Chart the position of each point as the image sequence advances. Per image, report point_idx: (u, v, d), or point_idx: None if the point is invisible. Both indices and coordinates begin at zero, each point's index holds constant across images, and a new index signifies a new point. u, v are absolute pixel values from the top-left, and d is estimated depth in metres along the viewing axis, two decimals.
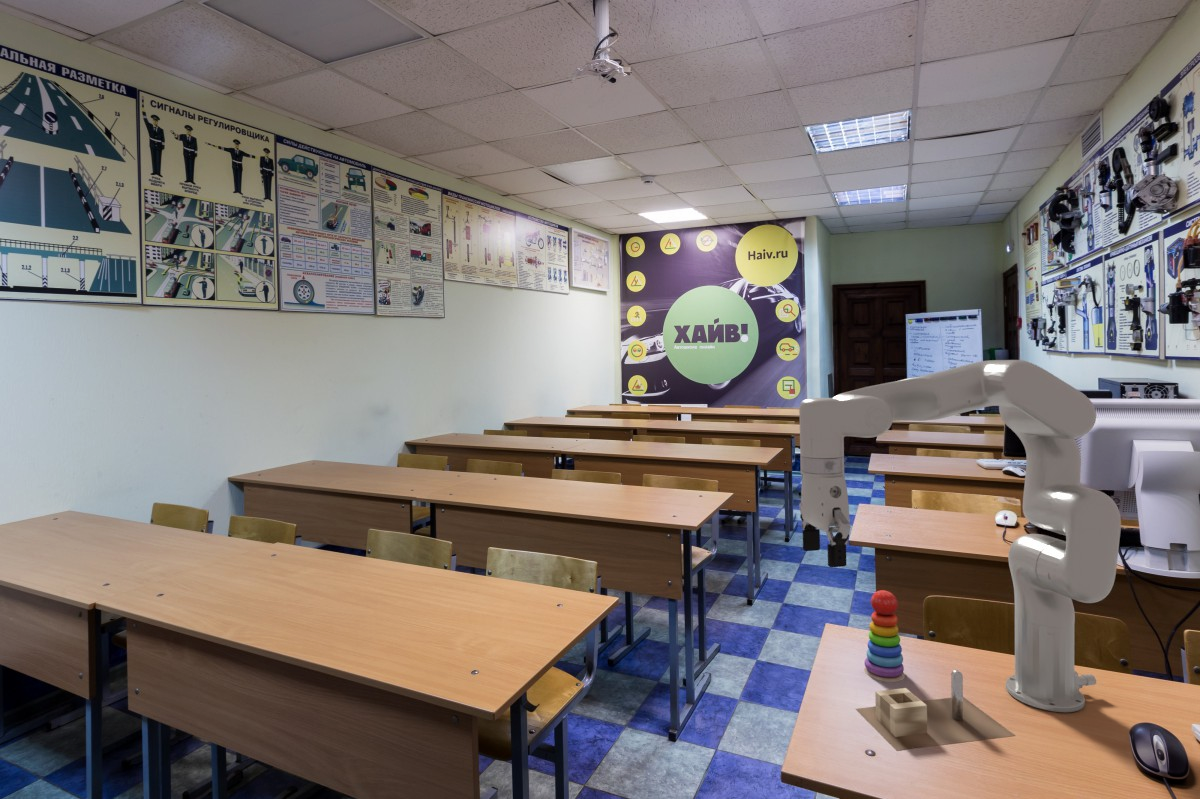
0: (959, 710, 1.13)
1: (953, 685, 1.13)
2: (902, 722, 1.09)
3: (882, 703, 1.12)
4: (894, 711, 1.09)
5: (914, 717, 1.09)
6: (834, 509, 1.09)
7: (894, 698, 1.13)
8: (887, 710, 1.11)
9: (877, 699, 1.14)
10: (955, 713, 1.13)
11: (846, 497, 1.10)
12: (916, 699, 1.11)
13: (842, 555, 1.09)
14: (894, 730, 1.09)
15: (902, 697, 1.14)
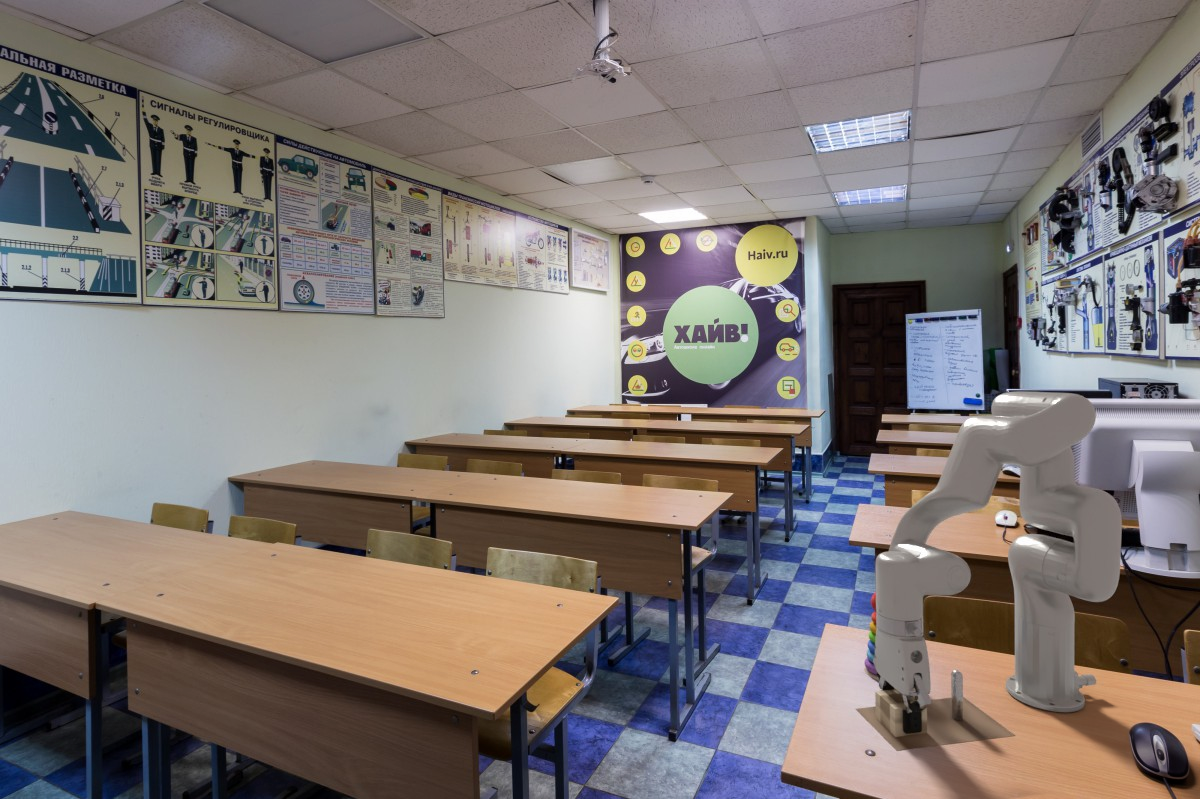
0: (959, 710, 1.13)
1: (953, 685, 1.13)
2: (902, 722, 1.09)
3: (882, 703, 1.12)
4: (893, 711, 1.09)
5: None
6: (915, 677, 1.07)
7: (894, 698, 1.13)
8: (887, 710, 1.11)
9: (877, 699, 1.14)
10: (955, 713, 1.13)
11: (927, 661, 1.07)
12: None
13: (918, 722, 1.08)
14: (894, 730, 1.09)
15: (902, 697, 1.14)
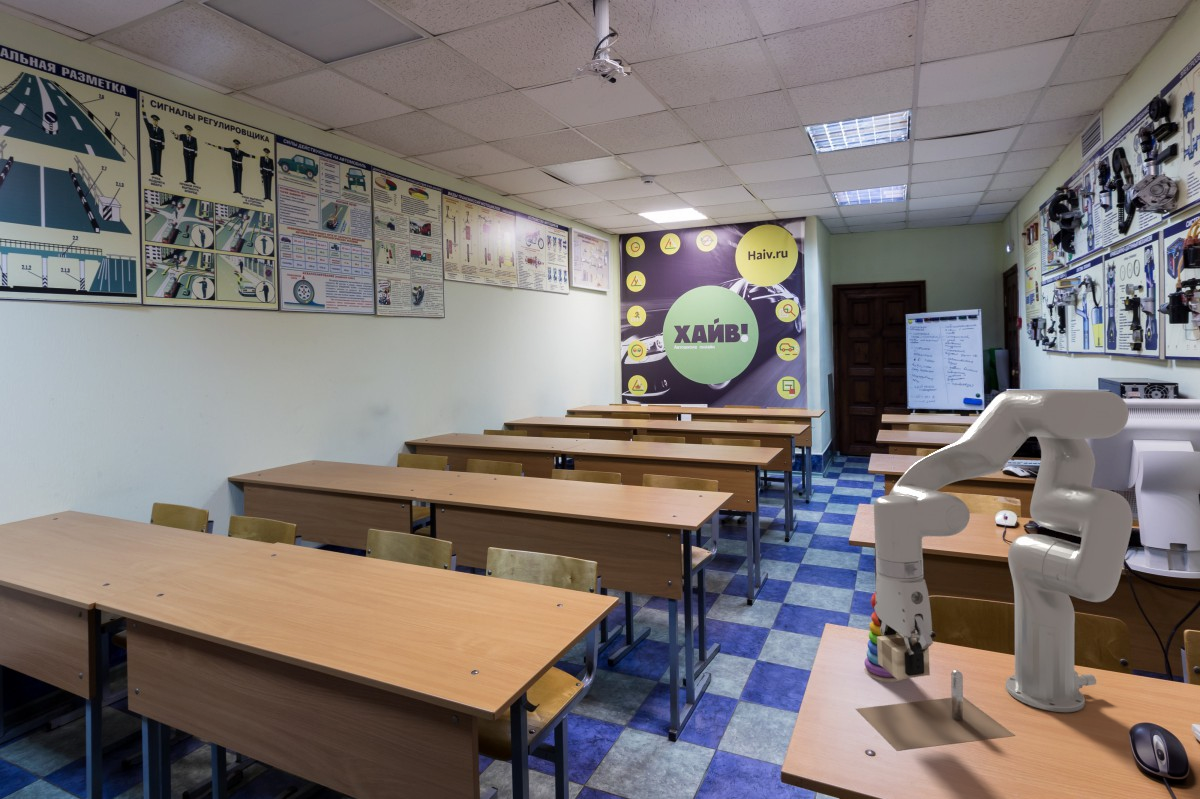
0: (959, 710, 1.13)
1: (953, 685, 1.13)
2: (904, 665, 1.08)
3: (884, 647, 1.12)
4: (895, 654, 1.08)
5: None
6: (916, 618, 1.06)
7: (896, 642, 1.13)
8: (889, 654, 1.10)
9: (879, 644, 1.14)
10: (955, 713, 1.13)
11: (928, 602, 1.06)
12: None
13: (920, 664, 1.07)
14: (896, 673, 1.09)
15: (904, 641, 1.13)
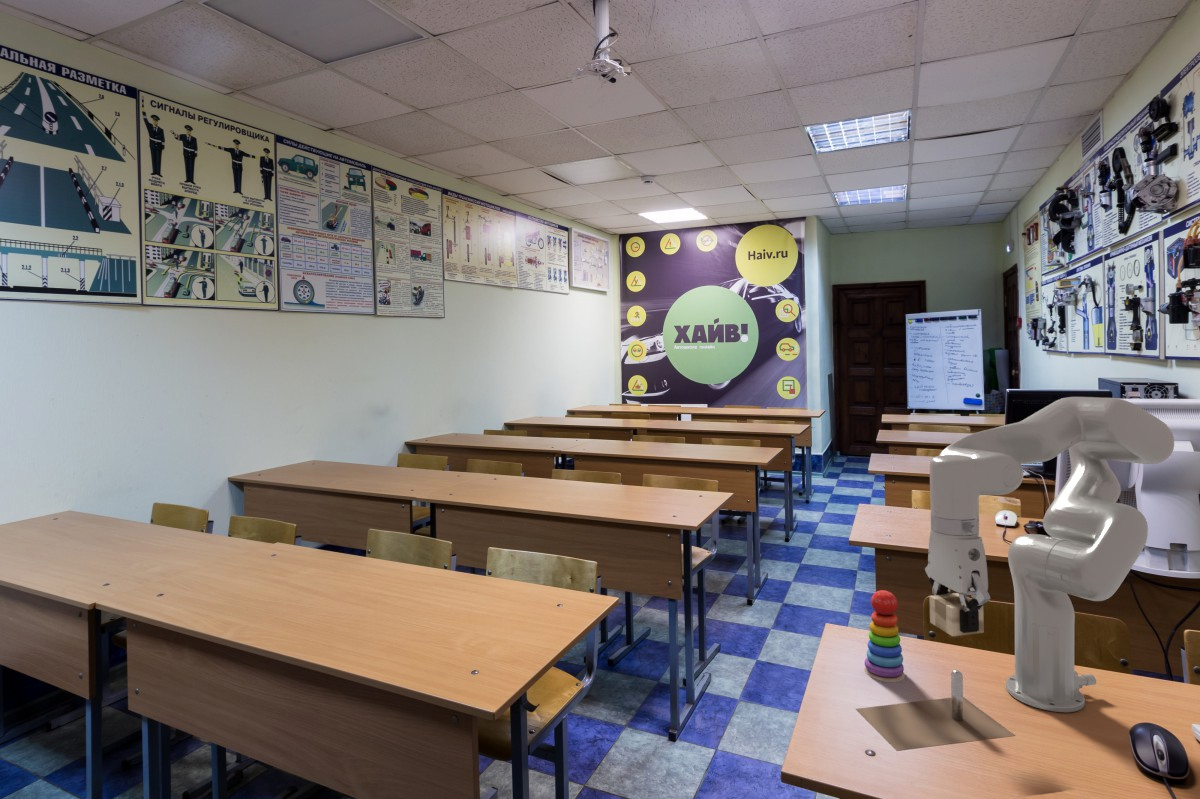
0: (959, 710, 1.13)
1: (953, 685, 1.13)
2: (959, 622, 1.09)
3: (937, 606, 1.13)
4: (950, 611, 1.09)
5: None
6: (973, 575, 1.07)
7: (949, 601, 1.14)
8: (943, 612, 1.11)
9: (931, 603, 1.14)
10: (955, 713, 1.13)
11: (984, 559, 1.07)
12: None
13: (975, 621, 1.08)
14: (951, 630, 1.10)
15: (956, 600, 1.14)
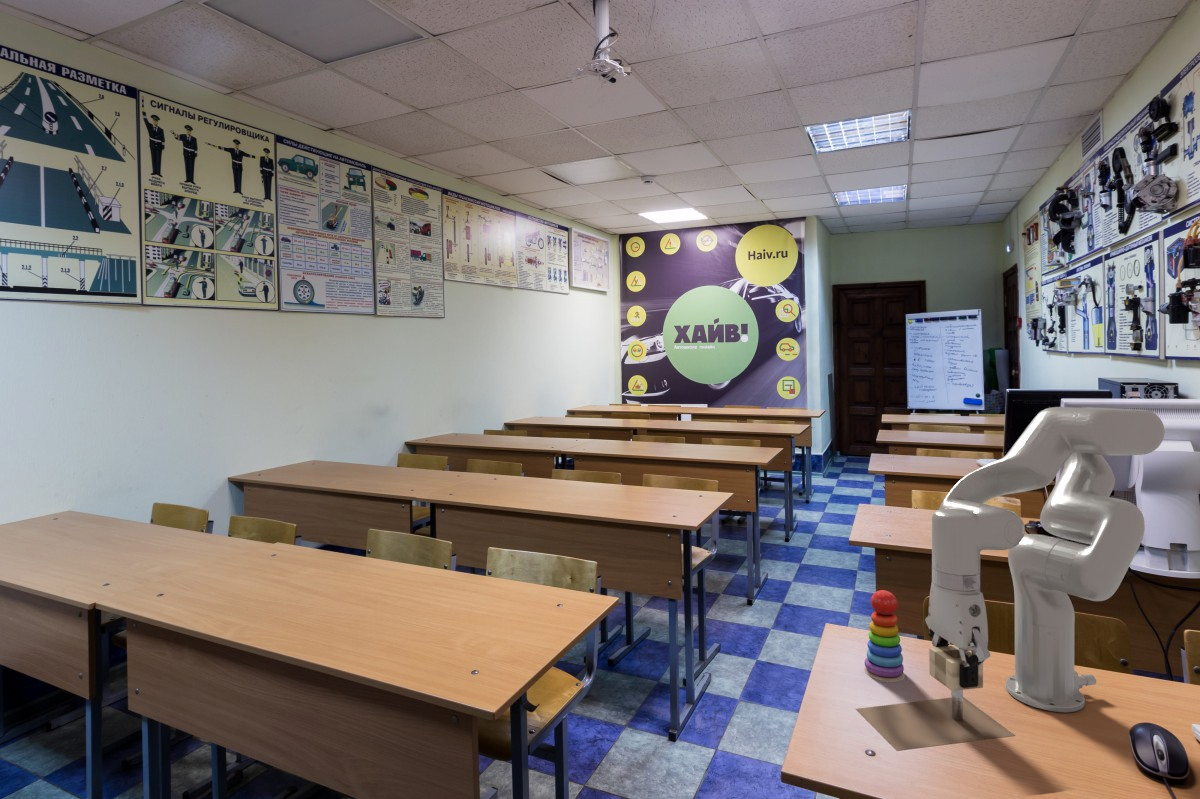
0: (959, 710, 1.13)
1: None
2: (958, 676, 1.10)
3: (937, 659, 1.13)
4: (950, 665, 1.10)
5: None
6: (973, 631, 1.08)
7: (948, 654, 1.14)
8: (943, 665, 1.12)
9: (931, 655, 1.15)
10: (955, 713, 1.13)
11: (985, 615, 1.08)
12: None
13: (975, 676, 1.09)
14: (950, 684, 1.10)
15: (956, 653, 1.14)
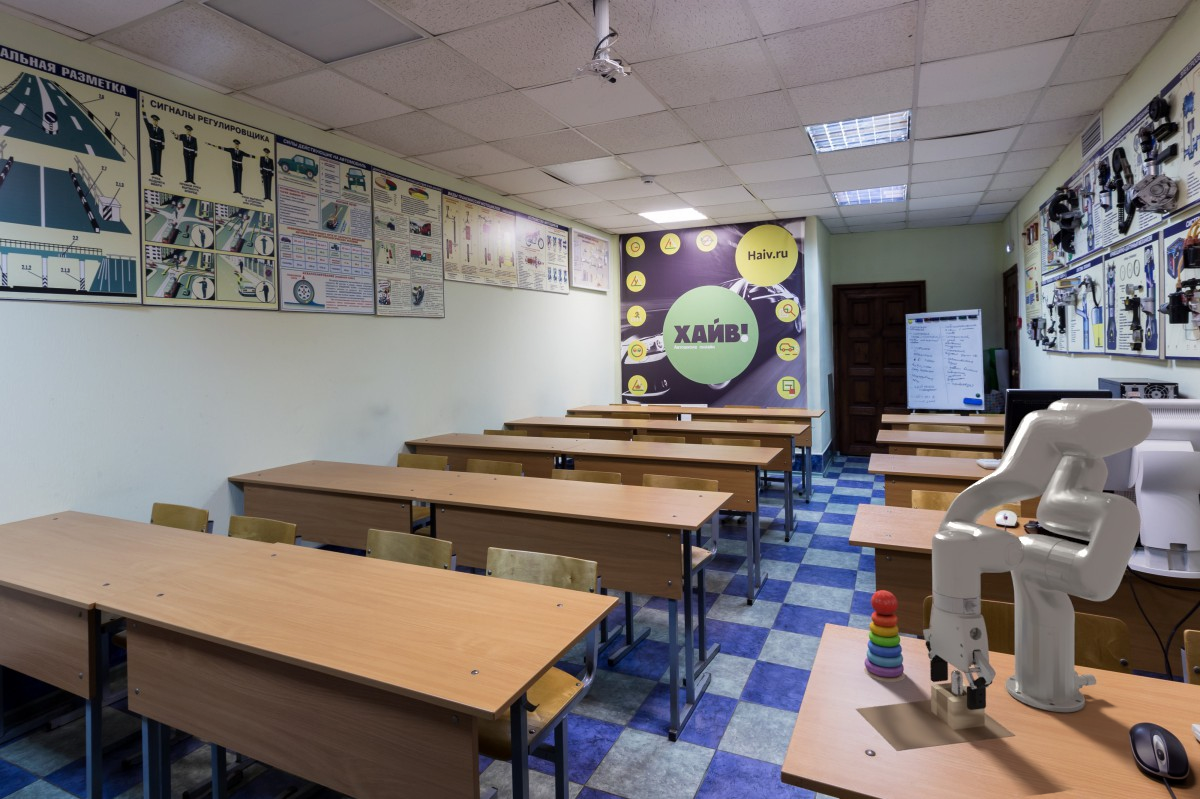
0: None
1: (953, 685, 1.13)
2: (960, 715, 1.10)
3: (939, 696, 1.14)
4: (952, 704, 1.10)
5: (972, 710, 1.11)
6: (974, 651, 1.08)
7: (950, 691, 1.15)
8: (944, 704, 1.12)
9: (933, 692, 1.15)
10: None
11: (986, 638, 1.08)
12: None
13: (983, 698, 1.07)
14: (952, 723, 1.10)
15: None
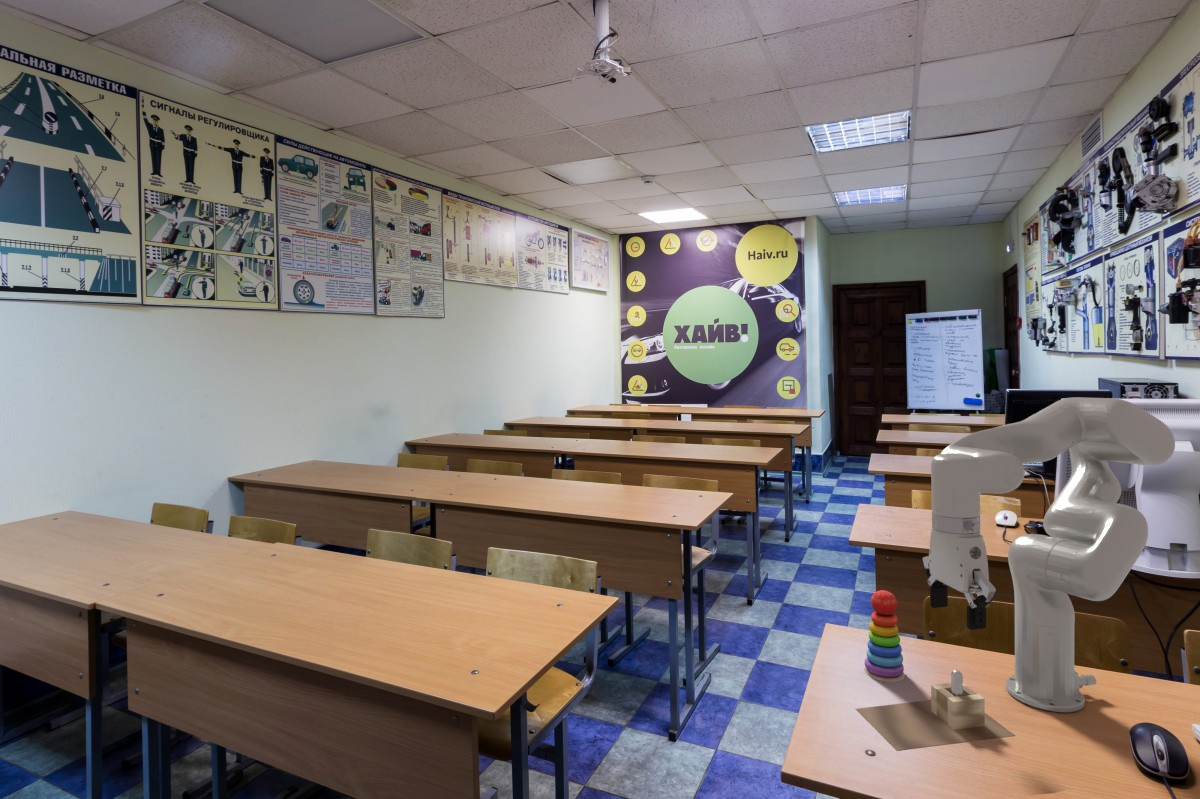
0: None
1: (953, 685, 1.13)
2: (960, 715, 1.10)
3: (939, 696, 1.14)
4: (952, 704, 1.10)
5: (972, 710, 1.11)
6: (974, 571, 1.07)
7: (950, 691, 1.15)
8: (944, 704, 1.12)
9: (933, 692, 1.15)
10: None
11: (986, 558, 1.07)
12: (973, 693, 1.13)
13: (983, 617, 1.07)
14: (952, 723, 1.10)
15: None
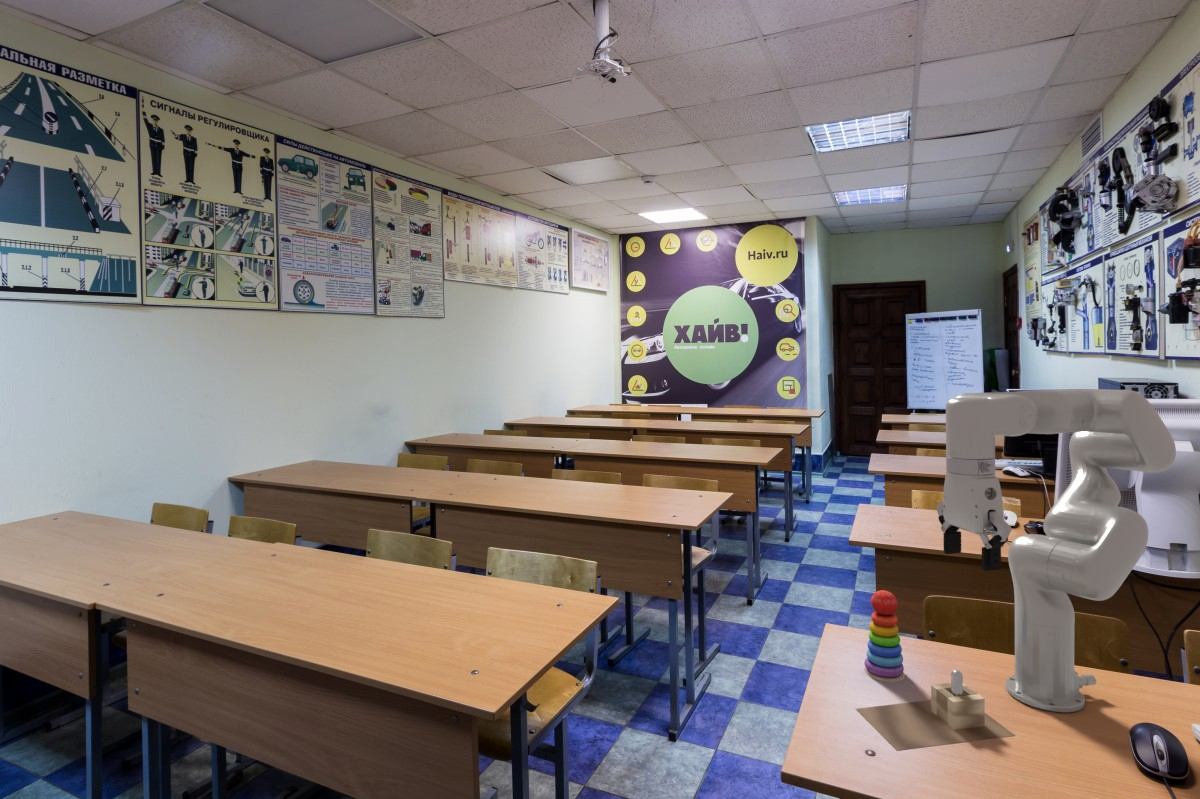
0: None
1: (953, 685, 1.13)
2: (960, 715, 1.10)
3: (939, 696, 1.14)
4: (952, 704, 1.10)
5: (972, 710, 1.11)
6: (989, 511, 1.07)
7: (950, 691, 1.15)
8: (944, 704, 1.12)
9: (933, 692, 1.15)
10: None
11: (1001, 499, 1.07)
12: (973, 693, 1.13)
13: (998, 558, 1.06)
14: (952, 723, 1.10)
15: None
